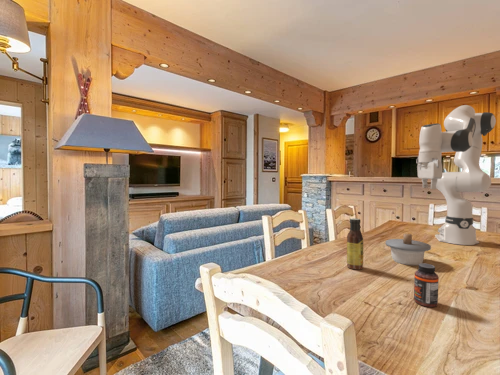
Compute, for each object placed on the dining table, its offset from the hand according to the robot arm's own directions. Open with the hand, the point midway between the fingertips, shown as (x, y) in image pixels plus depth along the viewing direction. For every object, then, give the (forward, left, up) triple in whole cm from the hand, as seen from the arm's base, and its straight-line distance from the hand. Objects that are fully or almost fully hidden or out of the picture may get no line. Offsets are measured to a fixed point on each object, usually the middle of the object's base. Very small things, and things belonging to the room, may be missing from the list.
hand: (428, 188), depth 127 cm
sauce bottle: (+28, -35, -31) cm, 55 cm away
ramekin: (+14, -12, -32) cm, 36 cm away
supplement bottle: (+55, -18, -31) cm, 66 cm away
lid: (+14, -12, -24) cm, 31 cm away
